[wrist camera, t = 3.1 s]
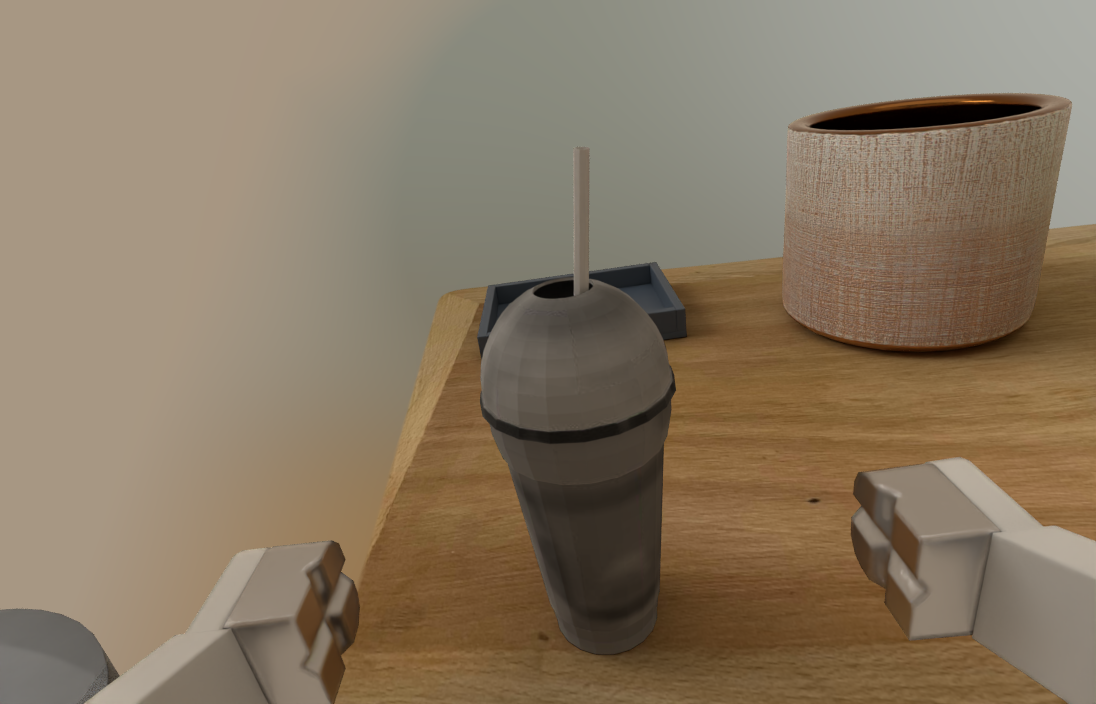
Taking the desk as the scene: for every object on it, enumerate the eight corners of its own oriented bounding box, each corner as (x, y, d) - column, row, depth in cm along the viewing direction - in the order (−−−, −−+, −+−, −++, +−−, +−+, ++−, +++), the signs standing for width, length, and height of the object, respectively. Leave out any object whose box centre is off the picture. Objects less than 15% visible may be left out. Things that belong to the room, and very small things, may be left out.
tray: (482, 364, 53) (477, 337, 52) (492, 308, 66) (488, 285, 65) (686, 336, 53) (685, 308, 51) (657, 285, 65) (656, 261, 64)
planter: (839, 375, 43) (854, 142, 37) (752, 292, 59) (752, 120, 53) (1094, 339, 43) (1155, 97, 36) (938, 265, 59) (960, 88, 52)
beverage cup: (551, 545, 32) (480, 145, 24) (695, 560, 30) (673, 123, 21) (504, 669, 26) (385, 185, 17) (681, 699, 24) (643, 159, 15)
